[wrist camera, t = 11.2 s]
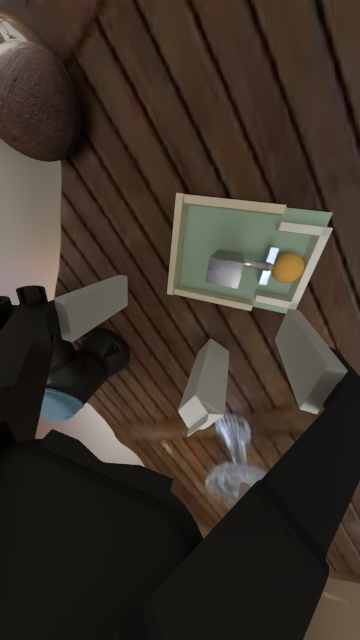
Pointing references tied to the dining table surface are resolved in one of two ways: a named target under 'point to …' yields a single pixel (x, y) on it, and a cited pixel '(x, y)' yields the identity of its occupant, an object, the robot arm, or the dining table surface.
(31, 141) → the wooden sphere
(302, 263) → the ball
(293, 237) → the pitch
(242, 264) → the kicker rod
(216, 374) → the milk
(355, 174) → the dining table surface
